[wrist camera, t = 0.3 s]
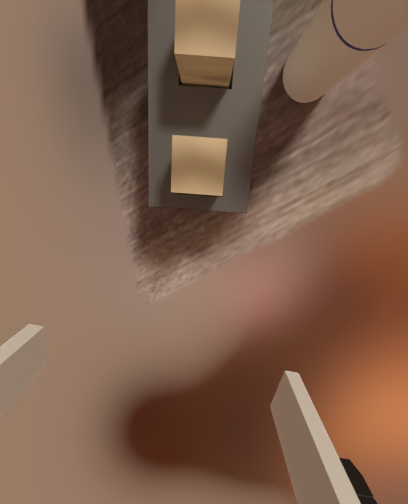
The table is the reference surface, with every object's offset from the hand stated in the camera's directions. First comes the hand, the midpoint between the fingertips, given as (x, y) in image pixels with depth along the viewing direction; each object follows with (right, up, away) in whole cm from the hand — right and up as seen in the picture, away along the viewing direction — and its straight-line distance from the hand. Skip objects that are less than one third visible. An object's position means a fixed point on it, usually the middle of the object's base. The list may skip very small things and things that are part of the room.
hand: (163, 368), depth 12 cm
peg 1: (+3, +27, +13) cm, 30 cm away
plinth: (+2, +24, +21) cm, 32 cm away
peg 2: (+2, +17, +16) cm, 23 cm away
